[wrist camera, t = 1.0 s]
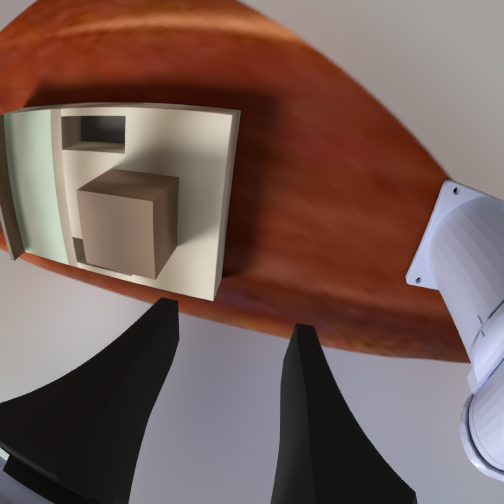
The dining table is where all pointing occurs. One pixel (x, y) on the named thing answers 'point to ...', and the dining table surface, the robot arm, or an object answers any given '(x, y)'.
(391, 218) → the dining table surface
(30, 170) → the box
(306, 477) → the robot arm
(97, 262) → the walnut block
